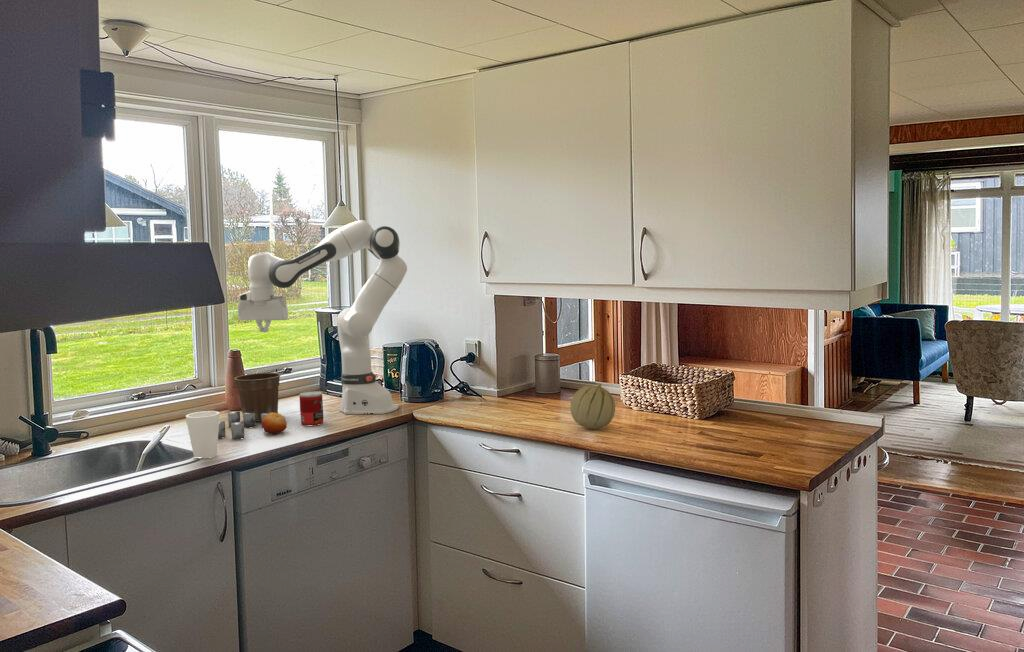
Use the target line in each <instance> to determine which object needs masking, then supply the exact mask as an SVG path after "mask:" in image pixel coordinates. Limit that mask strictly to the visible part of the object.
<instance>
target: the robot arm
mask: <svg viewBox="0 0 1024 652" xmlns="http://www.w3.org/2000/svg"><path fill="white" fill-rule="evenodd" d="M400 246H401V242H400V238H399V234H398V232H397V231H396V230H395V229H393V228H392V227H390V226H386V225H385V226H383V225H381V226H380V227H379V226H378V227H377V228H375V229H374V228H373V227H372V225H371V224H370V223H369V222H368V221H366V220H364V219H360V220H355V221H353V222H349V223H347V224H345V225H343V226H340V227H339V228H336V229H334V230H333V231H332V232H330V233H329V234H328V235H326V236H325V237H324V238H323V239H322V240H321V241H320V242H319V243H318V244H317V245H316V246H315V247H313V248H312V249H309V250H308V251H307V252H305V253H303V254H301V255H298V256H297V257H295V258H292V259H283V258H280V257H278V256H275V255H274V254H272V253H270V252H269V251H263V252H259V253H255V254H252V255H251V256H249V259H248V264H247V271H248V279H249V287H248V288H249V289H248V291H246V292H244V293H241V294H239V295H238V296H237V300H238V301H239V302H238V303H237V317H238V319H239V320H240V321H255V324H256V325H257V327H258V330H259V333H267V332H269V327H270V325H271V323H272V321H285V320H287V319H288V318H289V310H288V305H287V299H286V298H285V296H283V295H276V294H275V287H278V288H280V289H286V288H290V287H292V286H293V285H294V284H295V283H296V282H297V281H298V279H299V277H301V276H302V275H303V274H305V273H307V272H309V271H310V270H312V269H314V268H317V266H320V265H322V264H324V263H329V262H333V261H334V262H335V261H339V260H341V259H345V258H347V257H349V256H351V255H353V254H355V253H357V252H360V251H361V250H364V249H367V250H368V251H369V252H370V253H371V254H372V255H373V256H374V257H375V258H376V259H378V260H379V263H378V264H377V267H376V268H375V269H374V270H373V272H372V273H371V275H370V276H369V277H368V279H367V280H366V281H365V283H364V284H363V286H362V287H361V288H360V290H359V293H358V295H357V297H356V298H355V300H354V301H353V304H352V305H351V307H346V308H343V309H342V310H341V311H340V312H339V313H338V315H337V318H336V326H337V334H338V341H339V348H340V353H341V355H340V356H341V374H340V376H341V379H340V380H341V387H342V393H341V401H340V407H339V412H342V413H344V415H371V414H370V413H373V414H372V415H384V414H388V413H391V412H394V411H396V410H398V409H399V408H400V406H399V404H397V403H394V402H393V397H392V396H393V395H392V394H391V392H390V391H389V390H388V389H387V388H385V387H384V386H382V385H381V384H380V383H378V382H377V380H376V379H377V378H379V376H378V375H379V374H378V373H376V374H375V373H374V372H373V371H372V355H371V348H370V344H369V338H368V335H370V333H372V331H373V329H374V326H375V325H376V323H377V321H378V319H379V318H380V316H381V314H382V312H383V310H384V308H385V307H386V305H387V304H388V302H389V301H390V299H392V297H393V295H394V294H395V293H396V291H397V290H398V288H399V287H400V285H401V283H402V282H403V280H404V278H405V276H406V274H407V271H408V266H407V263H406V262H405V260H404V259H403V258H401V257H400V256H399V252H400ZM274 286H275V287H274ZM263 321H264V322H263ZM263 323H264V324H265V325H263ZM364 413H365V414H364ZM367 413H368V414H367Z"/></svg>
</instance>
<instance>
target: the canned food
mask: <svg viewBox="0 0 1024 652" xmlns="http://www.w3.org/2000/svg"><path fill="white" fill-rule="evenodd" d="M323 404H324V403H323V392H322V391H304V392H301V393H299V411H300V413H299V414H300V423H301V425H302V426H303V425H317V426H319V425H318V424H321V425H323V424H324V405H323ZM322 423H323V424H322Z"/></svg>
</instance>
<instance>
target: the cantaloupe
mask: <svg viewBox="0 0 1024 652" xmlns="http://www.w3.org/2000/svg"><path fill="white" fill-rule="evenodd" d="M615 401H616V400H614V396H613V395H612V394H611V392H609V390H608V389H606V388H604V387H602V384H601V383H600V382H599V384H598V385H593V384H588V385H585V386H582V387H580V388H579V389H578V390H577V391H576V392H575V393H574V395H573V396H572V398H571V401H570V407H569V408H570V409H569V410H570V414H571V417H572V419H573V420H574V422H575V423H577V425H579V426H580V427H583V428H585V429H586V428H588V429H587V430H592V429H595V430H600V429H603V428H605V427H607V426H608V425H609V424H611V423H612V420H613V419H614V417H615V412H616V402H615Z"/></svg>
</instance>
